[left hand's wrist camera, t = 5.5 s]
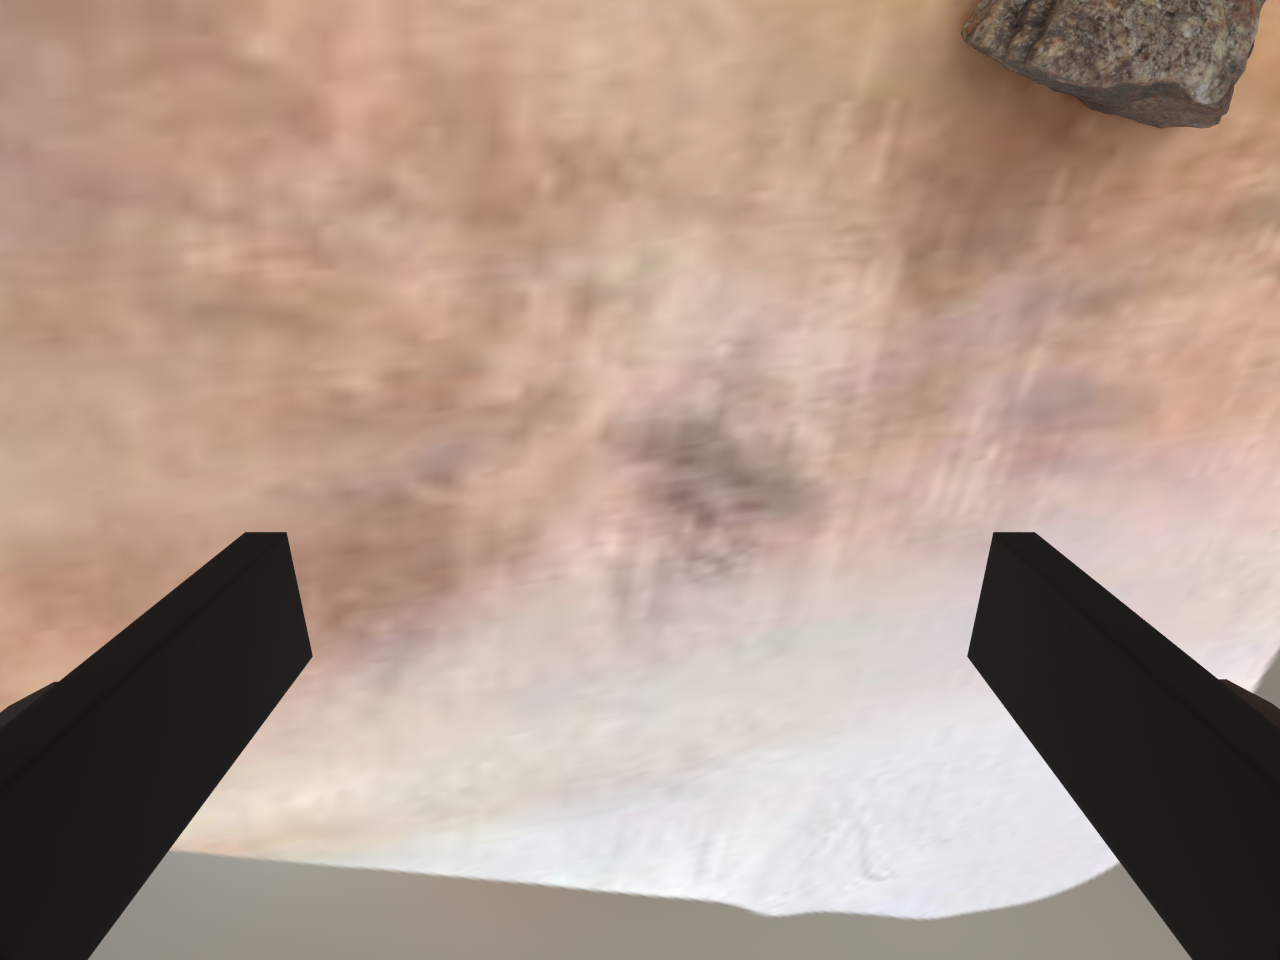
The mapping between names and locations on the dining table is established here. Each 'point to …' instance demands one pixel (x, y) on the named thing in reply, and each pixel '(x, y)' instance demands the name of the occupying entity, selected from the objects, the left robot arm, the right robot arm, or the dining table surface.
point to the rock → (1125, 52)
